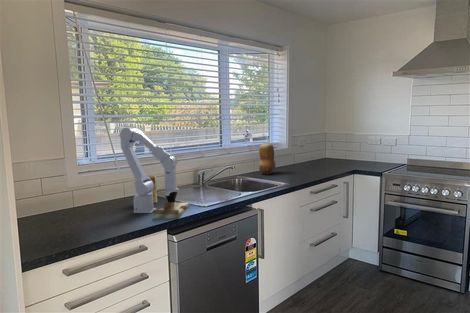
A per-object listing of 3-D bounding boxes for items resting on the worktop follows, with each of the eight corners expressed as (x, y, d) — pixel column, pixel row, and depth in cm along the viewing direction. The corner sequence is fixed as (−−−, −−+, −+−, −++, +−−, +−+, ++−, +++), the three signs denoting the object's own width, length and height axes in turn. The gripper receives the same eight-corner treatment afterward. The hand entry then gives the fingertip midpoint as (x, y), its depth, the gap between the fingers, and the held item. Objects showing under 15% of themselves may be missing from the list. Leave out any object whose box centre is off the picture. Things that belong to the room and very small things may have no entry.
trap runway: (153, 218, 167) (153, 210, 167) (167, 206, 189) (166, 199, 188) (178, 218, 166) (178, 210, 166) (188, 206, 188) (188, 199, 187)
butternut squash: (257, 173, 288) (257, 142, 285) (273, 172, 289) (273, 142, 286) (260, 175, 274) (260, 144, 271) (277, 175, 275) (277, 143, 272)
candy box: (157, 201, 201) (156, 175, 199) (156, 203, 196) (155, 176, 195) (141, 201, 200) (140, 175, 198) (140, 203, 196) (138, 177, 194)
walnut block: (163, 212, 170) (163, 204, 170) (166, 209, 174) (165, 202, 174) (171, 212, 170) (171, 204, 169) (174, 210, 174) (173, 202, 173)
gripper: (174, 183, 167) (175, 210, 169) (182, 177, 181) (183, 202, 183) (160, 183, 168) (161, 210, 170) (168, 177, 182) (170, 202, 184)
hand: (171, 206), depth 176 cm, fingers closed
